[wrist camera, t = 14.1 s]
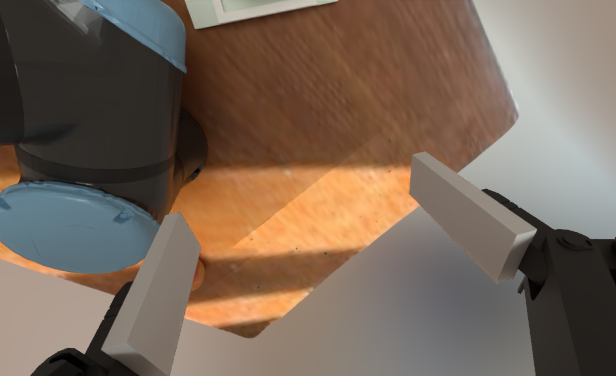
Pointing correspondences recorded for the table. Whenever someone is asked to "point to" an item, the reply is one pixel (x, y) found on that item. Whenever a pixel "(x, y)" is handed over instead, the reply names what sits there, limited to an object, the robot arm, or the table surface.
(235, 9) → the chassis bay
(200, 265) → the apple
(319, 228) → the table surface
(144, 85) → the robot arm
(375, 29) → the table surface
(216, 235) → the table surface
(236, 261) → the table surface
